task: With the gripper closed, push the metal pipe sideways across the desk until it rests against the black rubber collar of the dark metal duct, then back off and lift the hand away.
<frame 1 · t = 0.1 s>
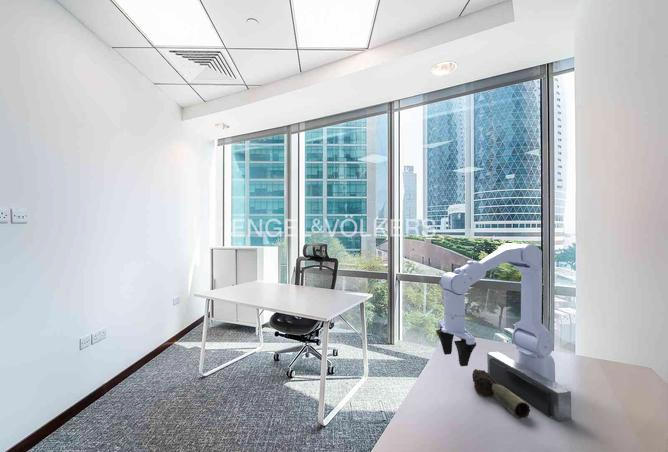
hand: (455, 359, 83), 10 cm above the table, tool pointing down, fingers open, 7 cm apart
duct: (523, 393, 82), on the table
metal pipe: (494, 399, 80), on the table
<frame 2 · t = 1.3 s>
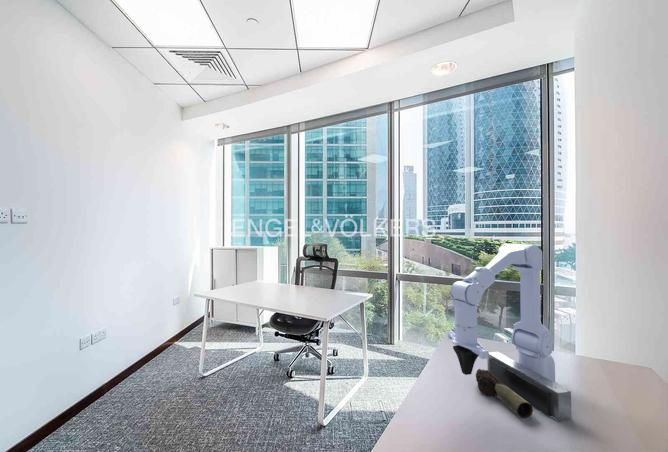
hand: (466, 373, 78), 8 cm above the table, tool pointing down, fingers closed
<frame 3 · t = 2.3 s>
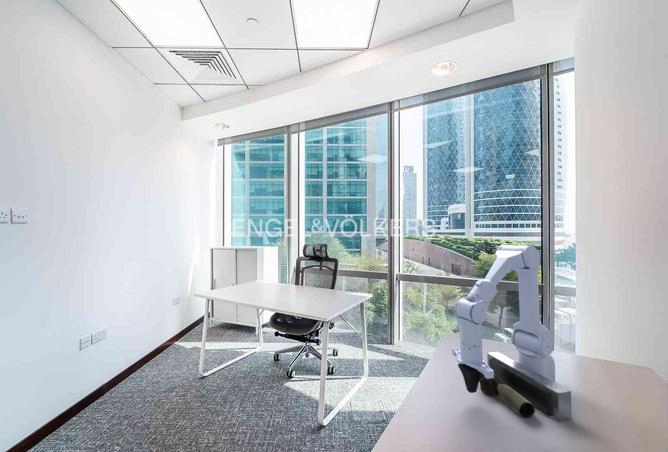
hand: (471, 391, 79), 3 cm above the table, tool pointing down, fingers closed
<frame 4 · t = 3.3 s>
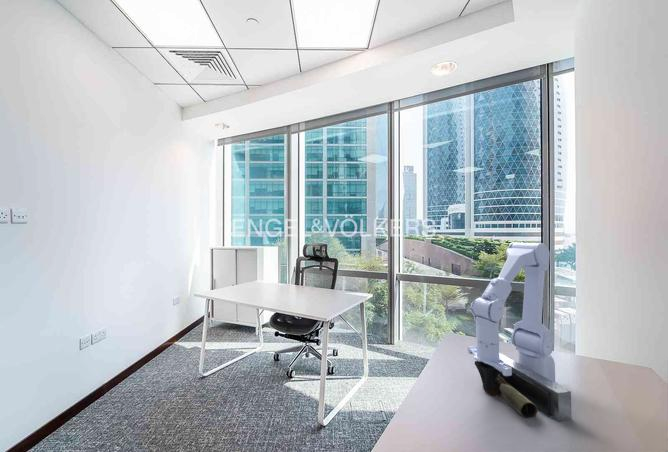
hand: (488, 388, 80), 3 cm above the table, tool pointing down, fingers closed
metal pipe: (502, 399, 80), on the table, touching gripper
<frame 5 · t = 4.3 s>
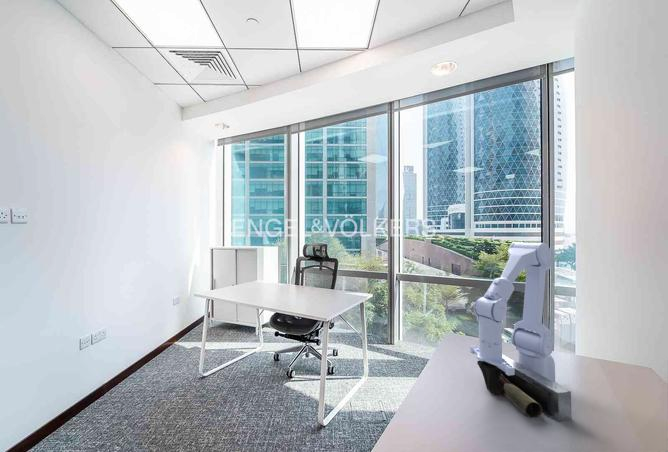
hand: (491, 388, 80), 3 cm above the table, tool pointing down, fingers closed
metal pipe: (506, 399, 80), on the table, touching duct
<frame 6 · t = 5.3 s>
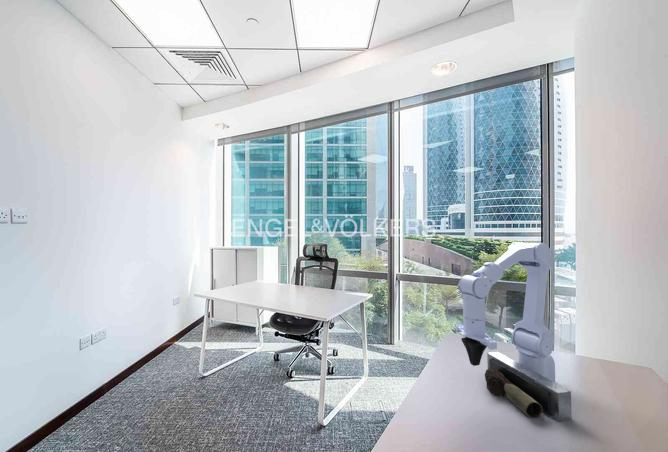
hand: (475, 364, 81), 9 cm above the table, tool pointing down, fingers closed
metal pipe: (506, 399, 80), on the table
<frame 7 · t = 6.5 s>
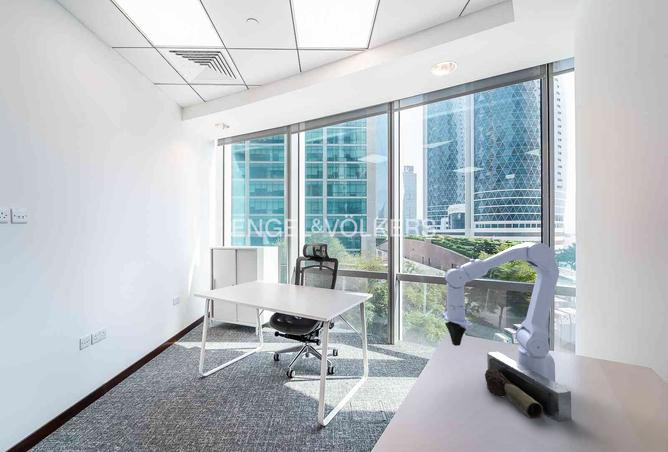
hand: (456, 344, 95), 9 cm above the table, tool pointing down, fingers closed
nothing on the table moved.
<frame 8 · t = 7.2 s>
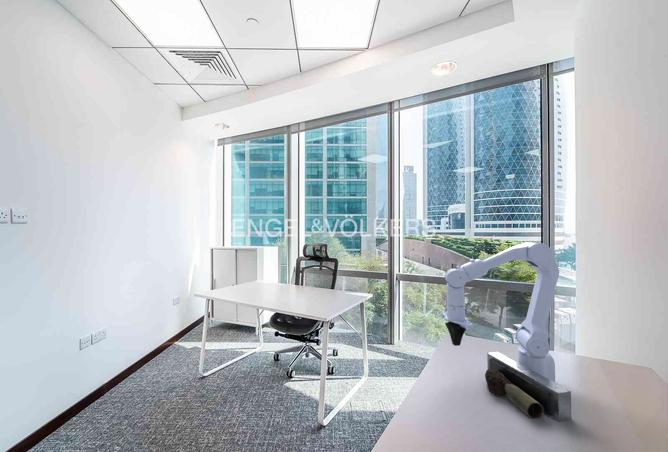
hand: (456, 344, 95), 9 cm above the table, tool pointing down, fingers closed
nothing on the table moved.
at the end: metal pipe inside the target area (1.0 cm from its centre), on the table; metal pipe moved 4.0 cm from its start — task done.
